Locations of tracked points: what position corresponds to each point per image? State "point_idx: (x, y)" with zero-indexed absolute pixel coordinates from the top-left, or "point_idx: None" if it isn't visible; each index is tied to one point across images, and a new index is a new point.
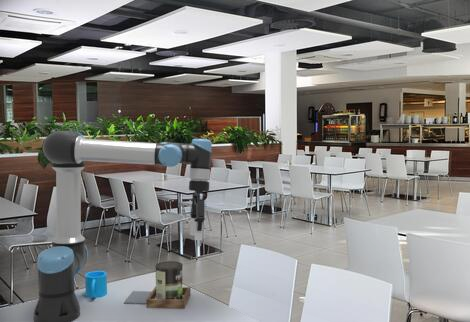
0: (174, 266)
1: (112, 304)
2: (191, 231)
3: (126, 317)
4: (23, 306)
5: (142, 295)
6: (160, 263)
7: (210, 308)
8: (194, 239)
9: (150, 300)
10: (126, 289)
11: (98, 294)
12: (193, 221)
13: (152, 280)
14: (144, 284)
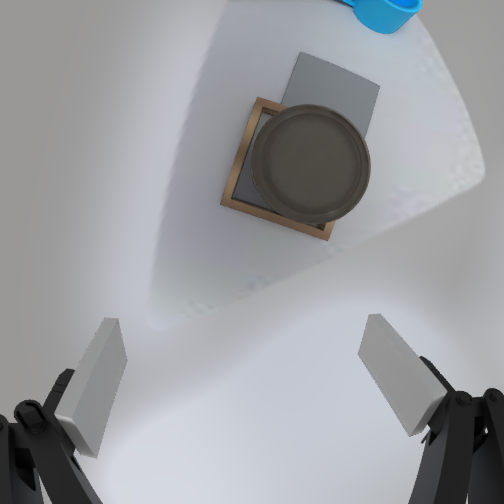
0: (289, 184)
1: (301, 30)
2: (378, 336)
3: (205, 57)
4: None
5: (341, 101)
6: (349, 132)
7: (208, 271)
8: (116, 319)
9: (253, 108)
10: (400, 77)
11: (356, 9)
12: (412, 394)
13: (447, 155)
14: (426, 128)
